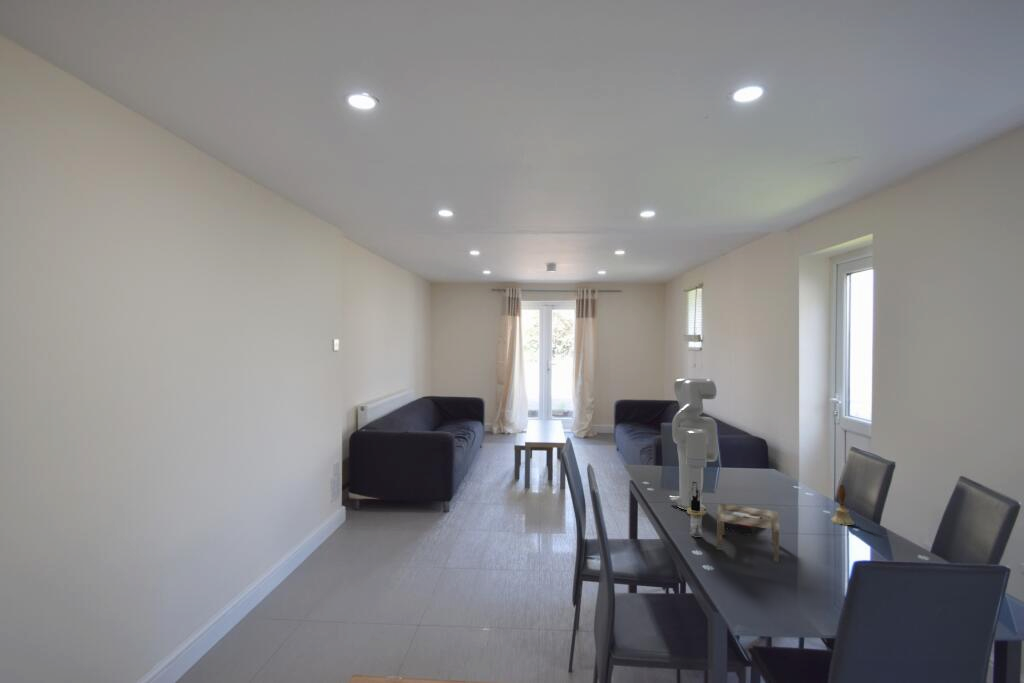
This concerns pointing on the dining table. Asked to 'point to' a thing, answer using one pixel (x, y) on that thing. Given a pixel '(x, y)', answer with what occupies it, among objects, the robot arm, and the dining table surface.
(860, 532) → the dining table surface
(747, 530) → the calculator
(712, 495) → the dining table surface
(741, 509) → the shelf
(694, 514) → the peg
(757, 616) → the dining table surface
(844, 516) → the hand bell
